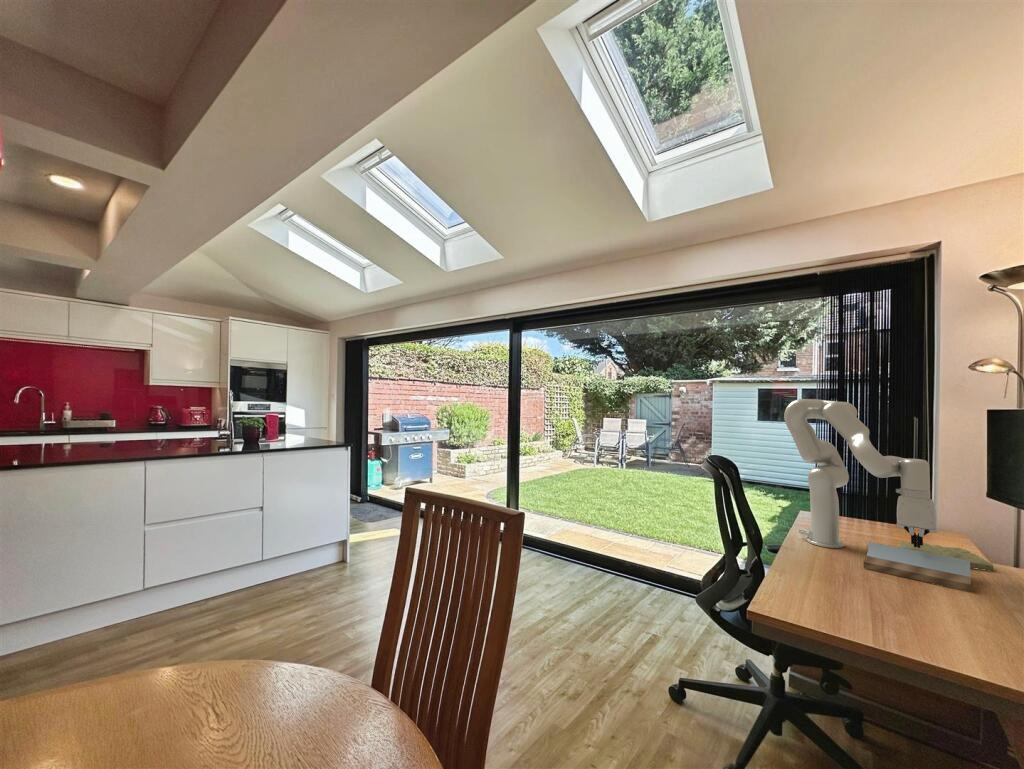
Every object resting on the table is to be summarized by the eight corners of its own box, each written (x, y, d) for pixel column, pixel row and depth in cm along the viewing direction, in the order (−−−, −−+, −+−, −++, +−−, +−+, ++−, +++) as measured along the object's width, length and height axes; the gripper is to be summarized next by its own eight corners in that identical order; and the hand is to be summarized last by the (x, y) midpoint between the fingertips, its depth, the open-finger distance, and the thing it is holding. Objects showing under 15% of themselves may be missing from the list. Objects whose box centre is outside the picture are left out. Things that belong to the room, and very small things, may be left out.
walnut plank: (863, 568, 153) (863, 561, 153) (866, 562, 158) (866, 556, 158) (971, 592, 134) (971, 584, 134) (970, 584, 140) (970, 577, 140)
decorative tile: (994, 573, 151) (994, 562, 151) (922, 565, 158) (921, 555, 158) (960, 554, 169) (960, 545, 169) (896, 548, 175) (896, 539, 175)
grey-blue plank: (867, 560, 159) (866, 555, 159) (869, 546, 164) (869, 541, 164) (970, 582, 141) (970, 577, 140) (969, 565, 146) (969, 560, 145)
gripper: (886, 492, 157) (888, 544, 156) (945, 499, 146) (947, 554, 146) (888, 489, 162) (890, 539, 161) (945, 496, 151) (947, 549, 151)
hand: (917, 546), depth 153 cm, fingers closed
